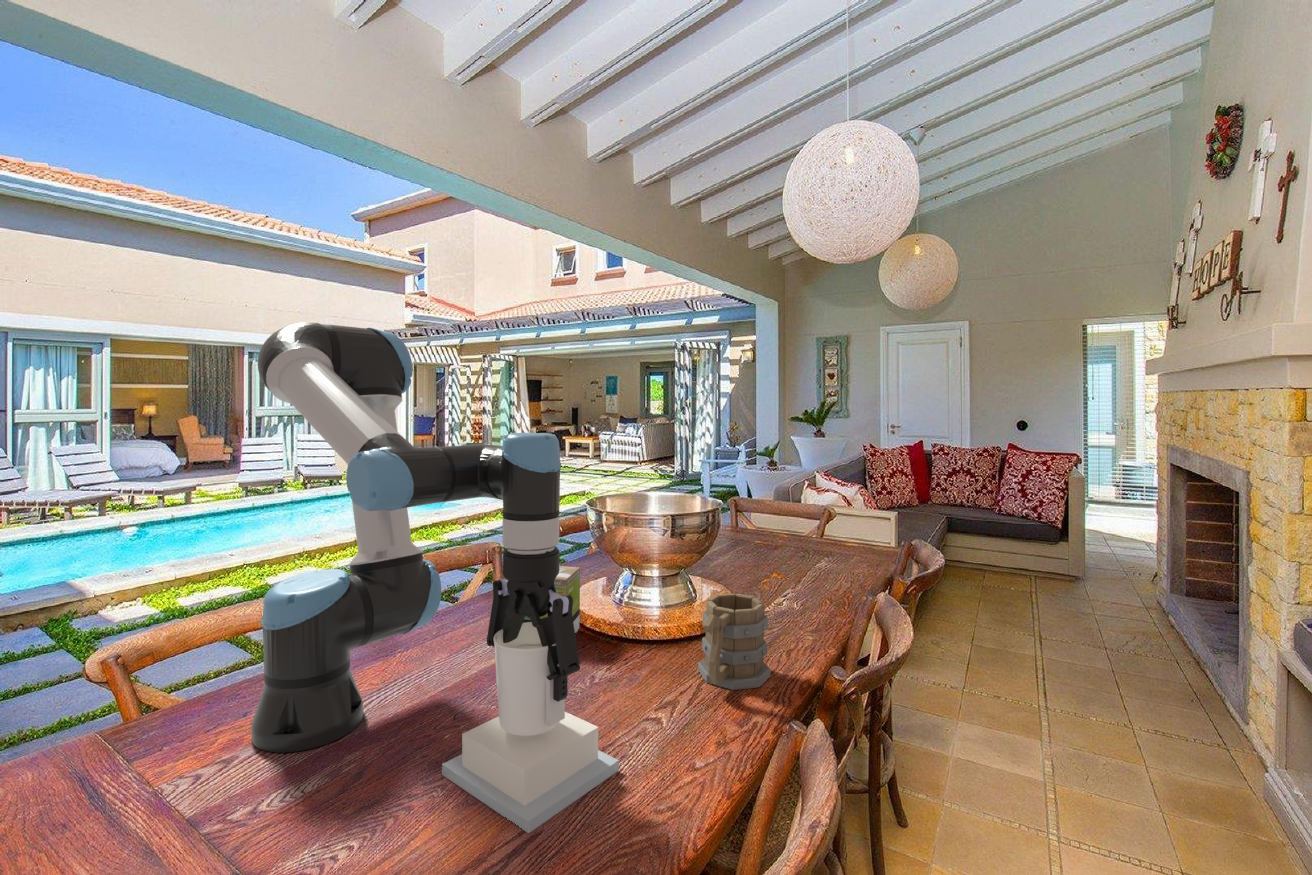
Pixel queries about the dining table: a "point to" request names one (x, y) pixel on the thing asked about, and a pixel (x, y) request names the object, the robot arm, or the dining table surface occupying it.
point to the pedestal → (530, 769)
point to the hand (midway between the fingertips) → (530, 709)
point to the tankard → (734, 642)
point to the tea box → (567, 590)
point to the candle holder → (522, 682)
